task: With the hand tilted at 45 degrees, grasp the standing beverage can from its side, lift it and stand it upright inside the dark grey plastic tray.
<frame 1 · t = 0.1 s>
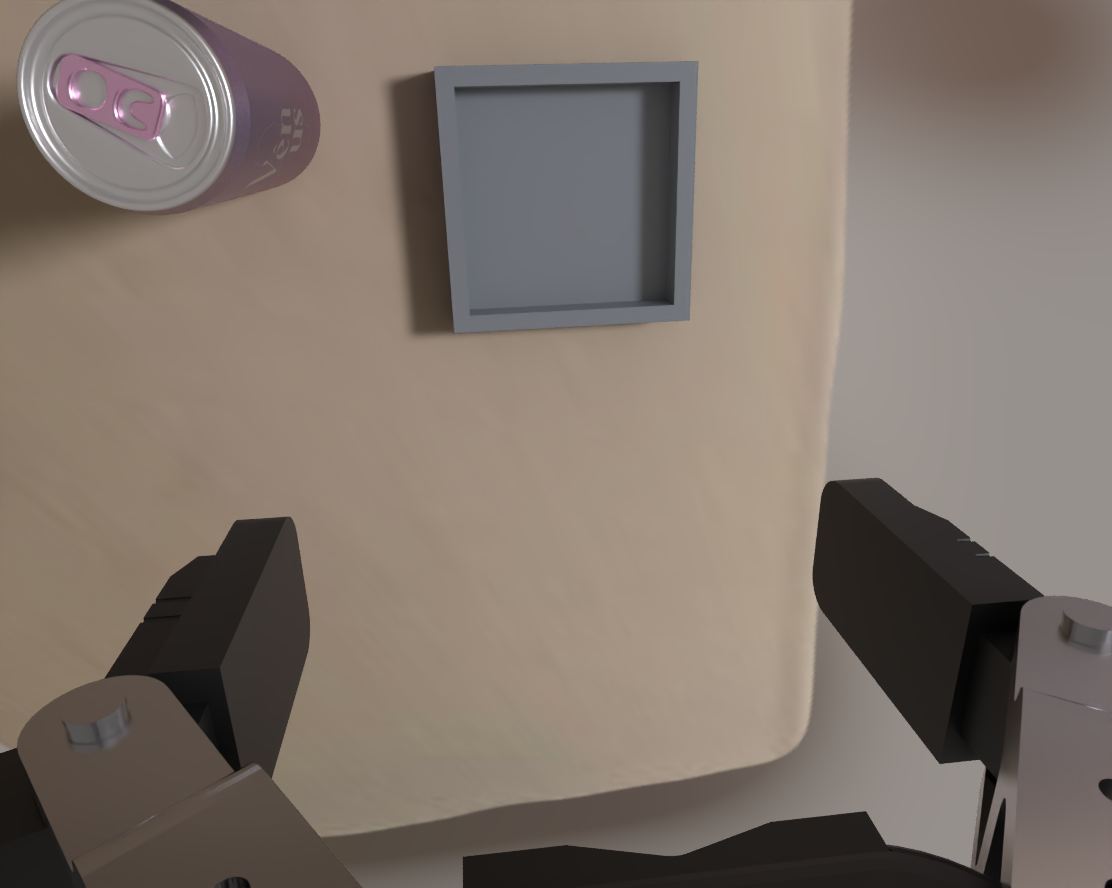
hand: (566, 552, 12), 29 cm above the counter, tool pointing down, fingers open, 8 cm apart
tray: (565, 199, 38), on the counter
beverage can: (255, 118, 36), on the counter
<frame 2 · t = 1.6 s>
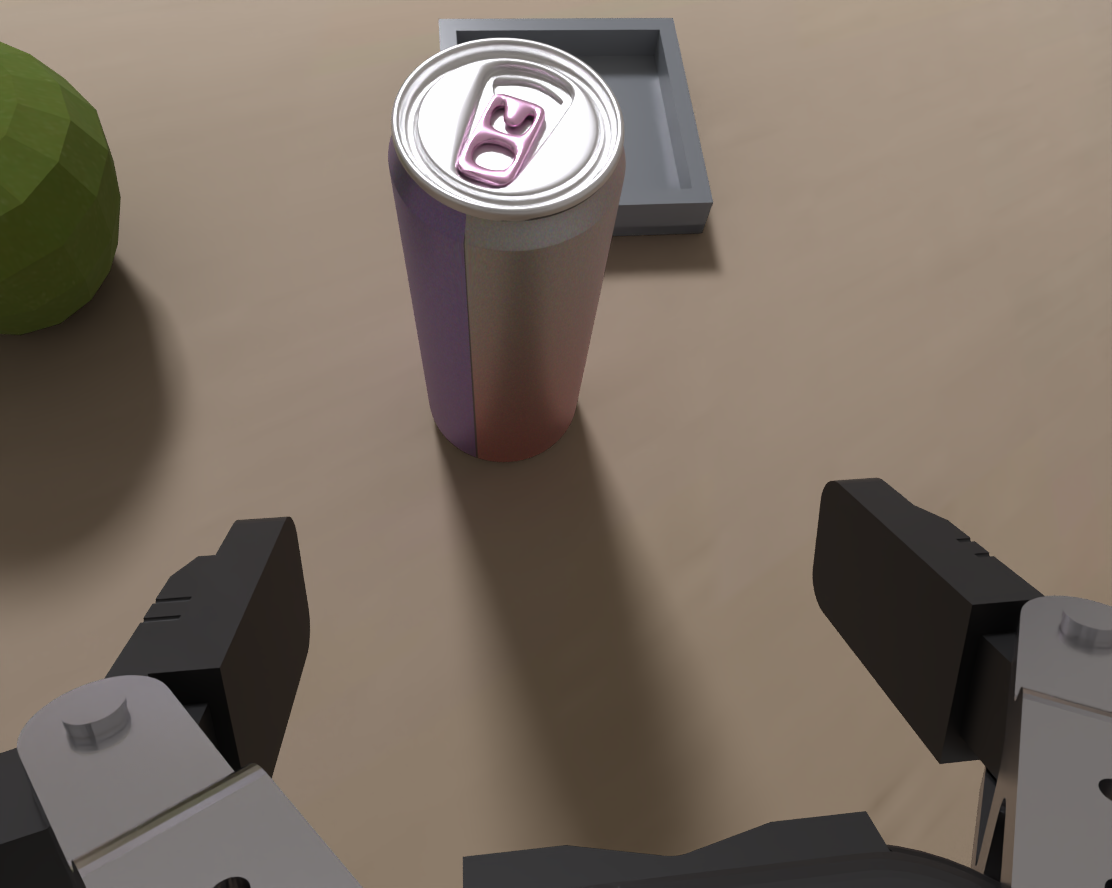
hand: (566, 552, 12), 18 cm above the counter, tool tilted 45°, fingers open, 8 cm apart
tray: (565, 140, 38), on the counter
beverage can: (503, 403, 33), on the counter
apple: (45, 280, 34), on the counter
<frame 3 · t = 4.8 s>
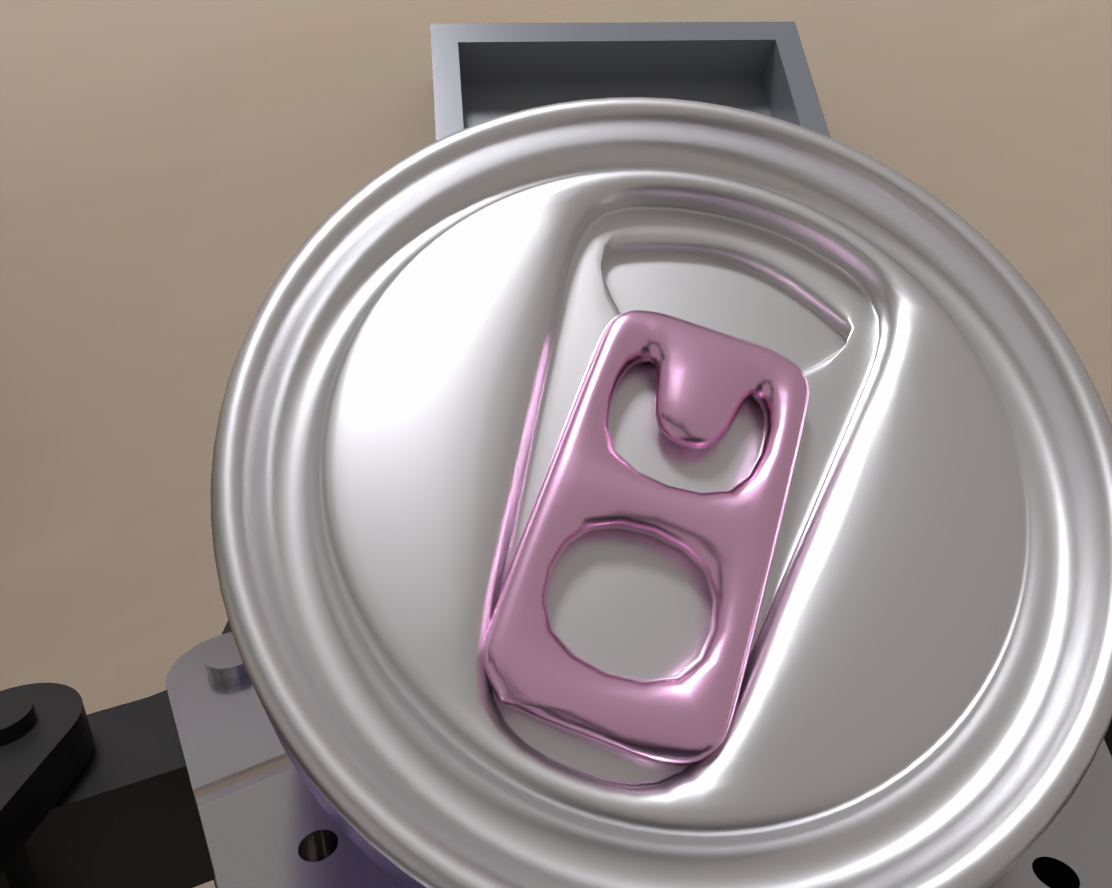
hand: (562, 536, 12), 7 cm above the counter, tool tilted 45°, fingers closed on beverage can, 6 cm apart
tray: (631, 215, 24), on the counter
beverage can: (544, 699, 19), on the counter, touching gripper
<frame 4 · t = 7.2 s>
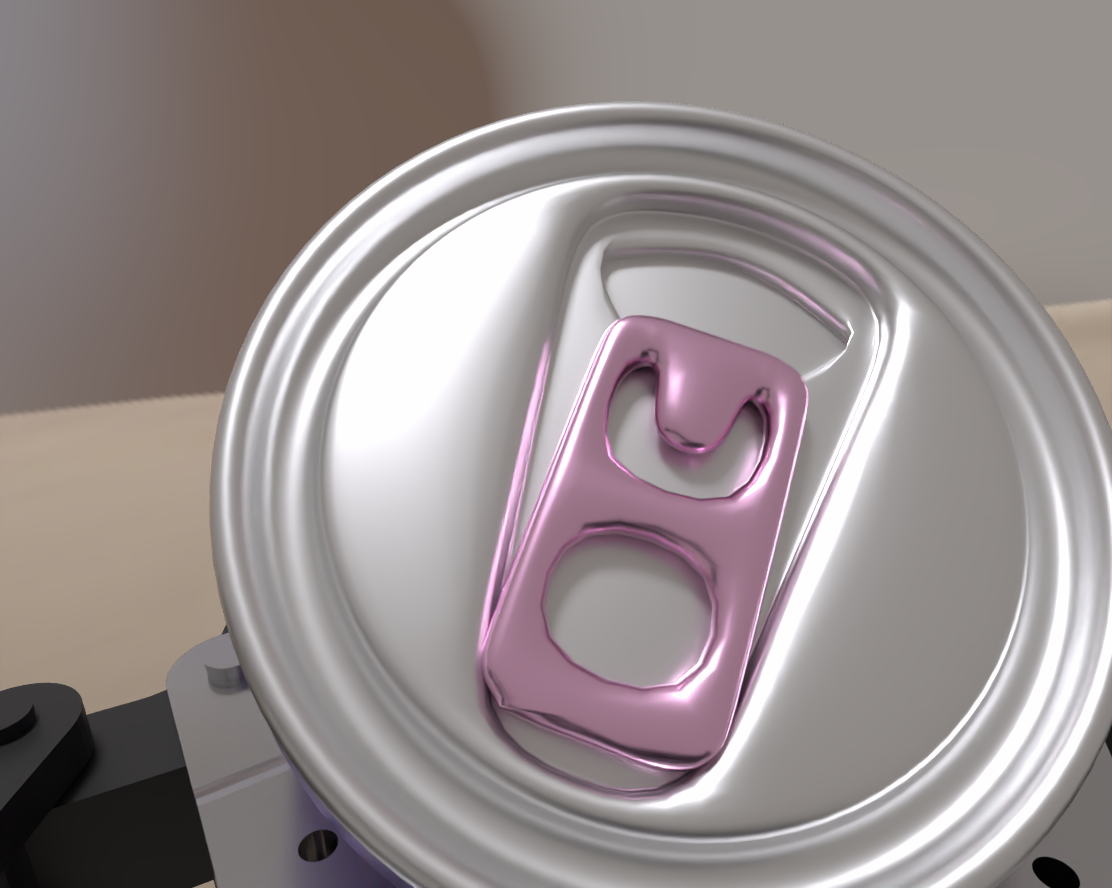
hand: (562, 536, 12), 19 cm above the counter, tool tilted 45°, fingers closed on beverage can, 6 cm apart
beverage can: (544, 700, 19), point 11 cm above the counter, touching gripper
when the fingers open (9 cm above the counter, at t = 9.7 s): beverage can drops 1 cm, resting on tray.
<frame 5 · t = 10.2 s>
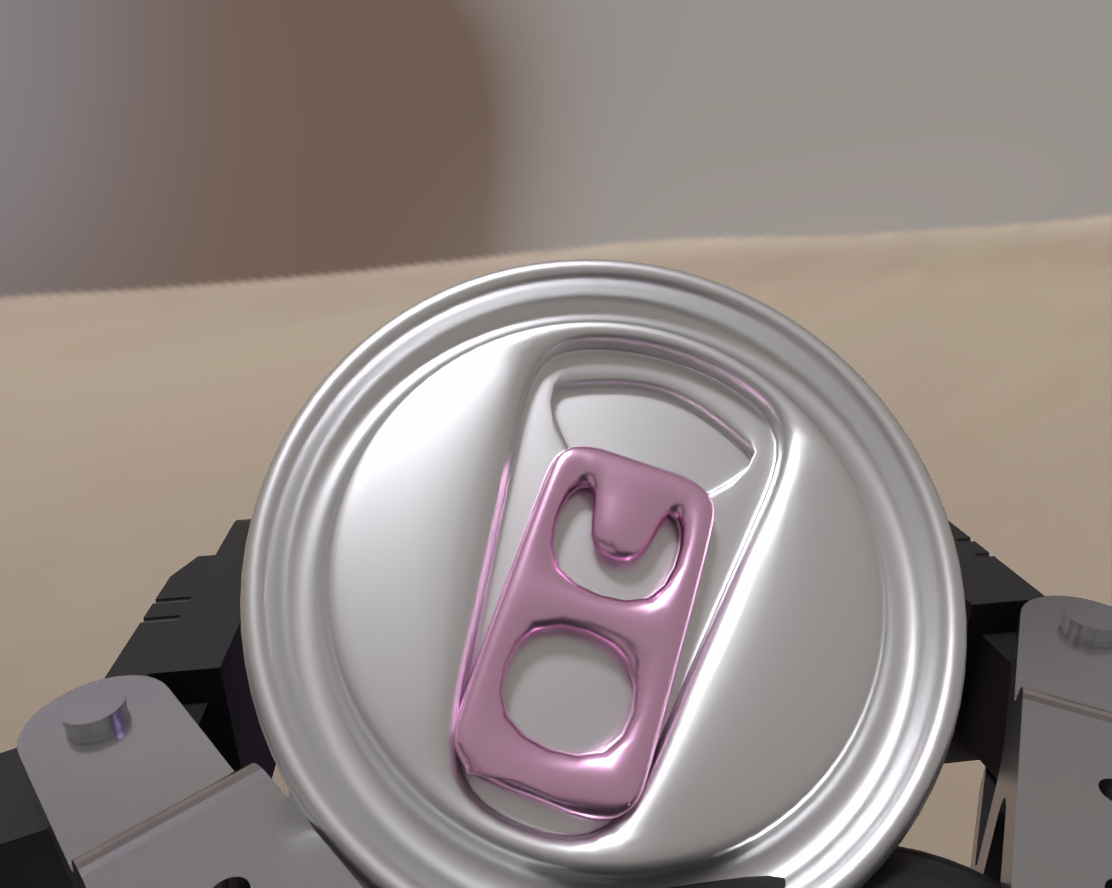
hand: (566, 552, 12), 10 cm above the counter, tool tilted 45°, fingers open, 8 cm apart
beverage can: (531, 718, 20), resting on tray
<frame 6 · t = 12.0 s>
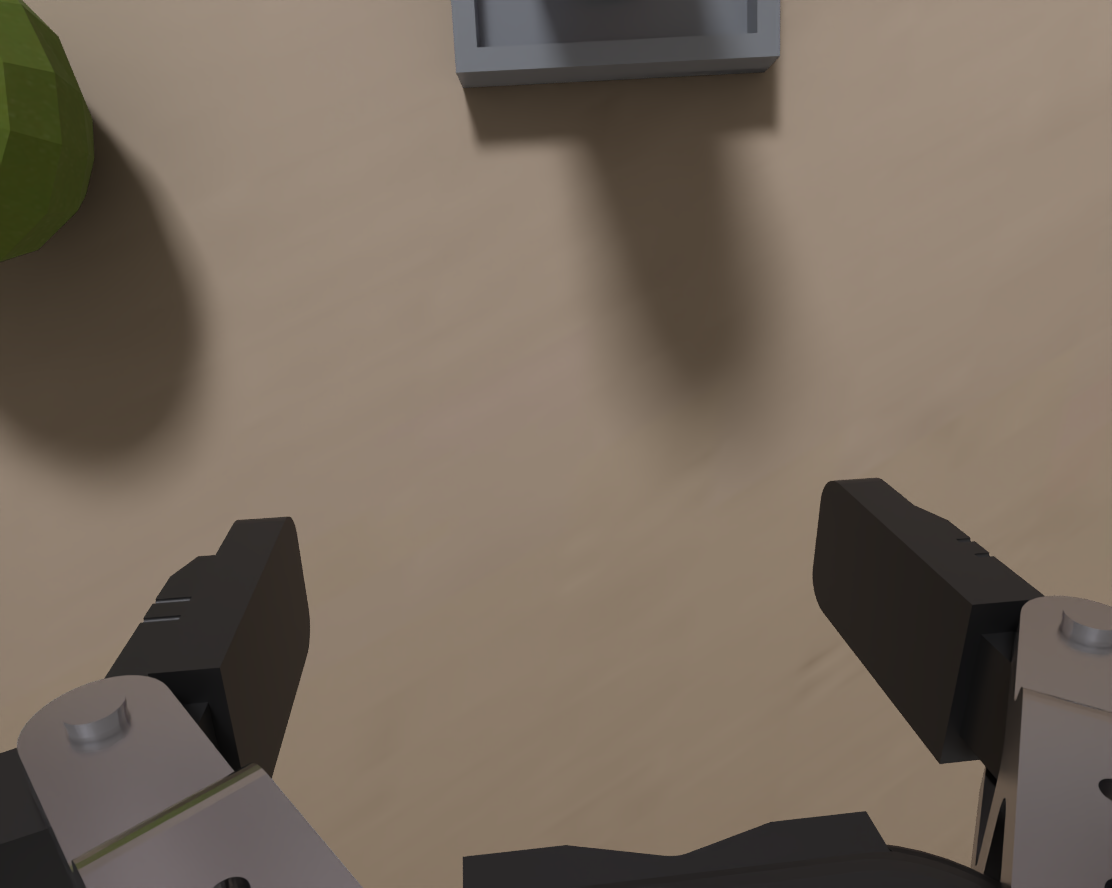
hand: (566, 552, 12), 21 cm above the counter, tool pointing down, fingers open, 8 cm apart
apple: (27, 144, 31), on the counter
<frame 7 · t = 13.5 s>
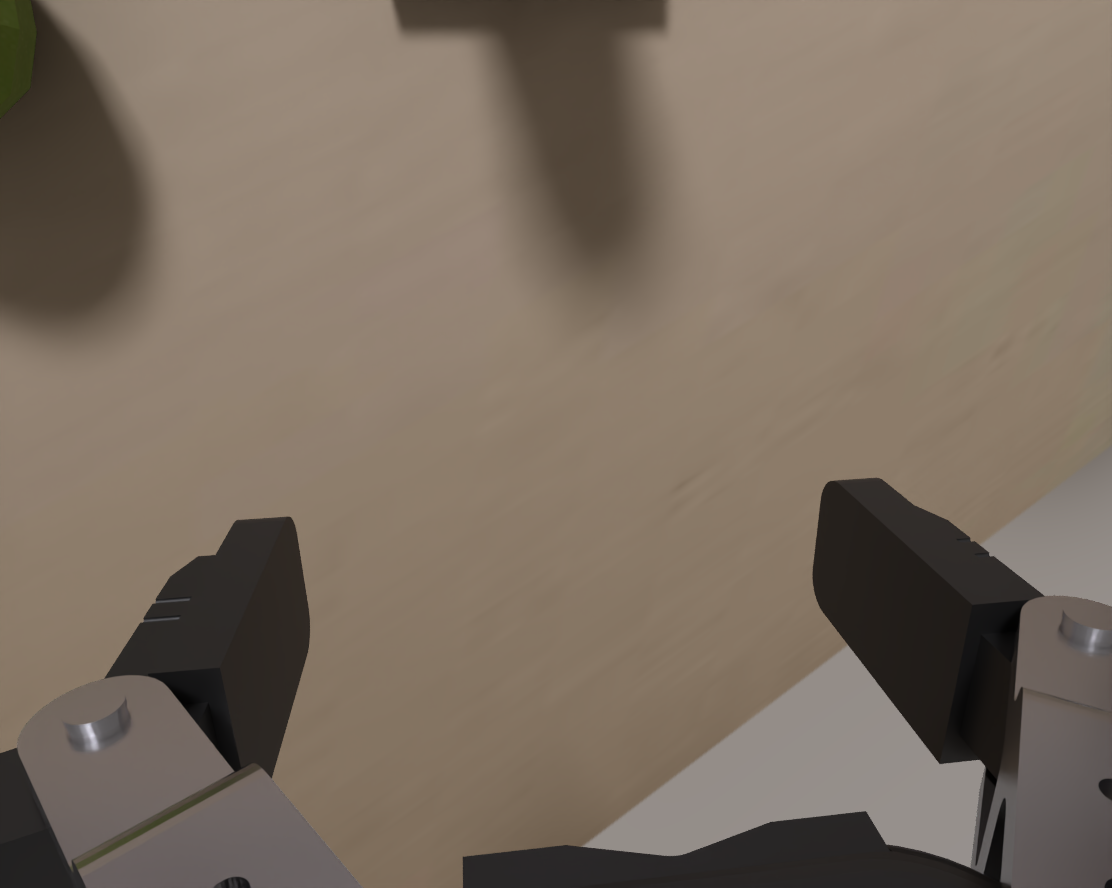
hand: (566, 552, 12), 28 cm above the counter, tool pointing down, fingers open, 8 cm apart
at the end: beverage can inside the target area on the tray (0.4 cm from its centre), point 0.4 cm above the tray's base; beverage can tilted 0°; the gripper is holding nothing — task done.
